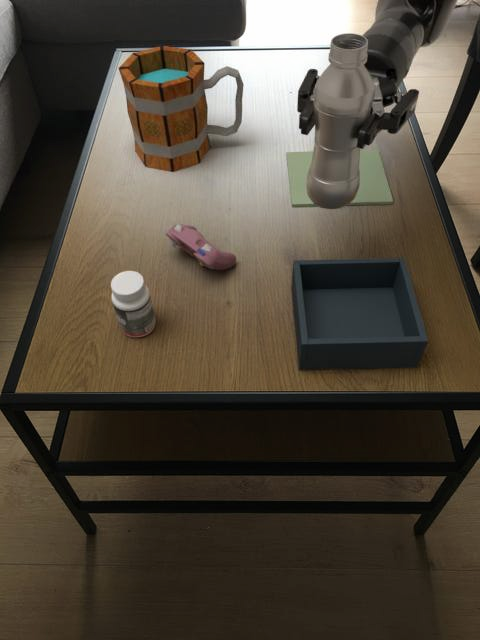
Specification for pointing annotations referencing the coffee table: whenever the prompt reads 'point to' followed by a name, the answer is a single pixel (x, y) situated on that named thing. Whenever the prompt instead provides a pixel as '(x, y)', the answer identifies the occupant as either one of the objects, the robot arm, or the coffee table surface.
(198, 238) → the pink curved plastic piece
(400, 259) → the bin
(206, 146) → the mug
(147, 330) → the pill bottle
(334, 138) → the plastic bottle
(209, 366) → the coffee table surface
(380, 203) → the mat
